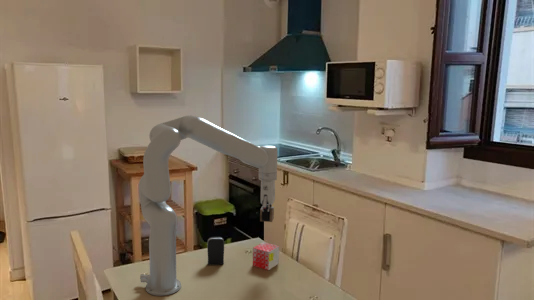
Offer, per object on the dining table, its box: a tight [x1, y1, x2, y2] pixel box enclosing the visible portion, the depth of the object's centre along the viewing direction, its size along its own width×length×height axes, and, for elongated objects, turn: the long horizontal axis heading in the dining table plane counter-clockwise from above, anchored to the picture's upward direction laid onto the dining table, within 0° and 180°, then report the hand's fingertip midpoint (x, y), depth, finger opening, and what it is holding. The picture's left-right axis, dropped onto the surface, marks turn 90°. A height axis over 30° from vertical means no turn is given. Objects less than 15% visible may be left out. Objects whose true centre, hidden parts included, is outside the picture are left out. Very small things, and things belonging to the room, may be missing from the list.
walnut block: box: [259, 205, 275, 223], centre depth 176 cm, size 5×5×5 cm
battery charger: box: [206, 236, 225, 266], centre depth 179 cm, size 7×4×11 cm, turn 100°
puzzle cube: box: [252, 241, 280, 271], centre depth 179 cm, size 8×8×8 cm
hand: (266, 218), depth 176 cm, fingers closed on walnut block, 5 cm apart
